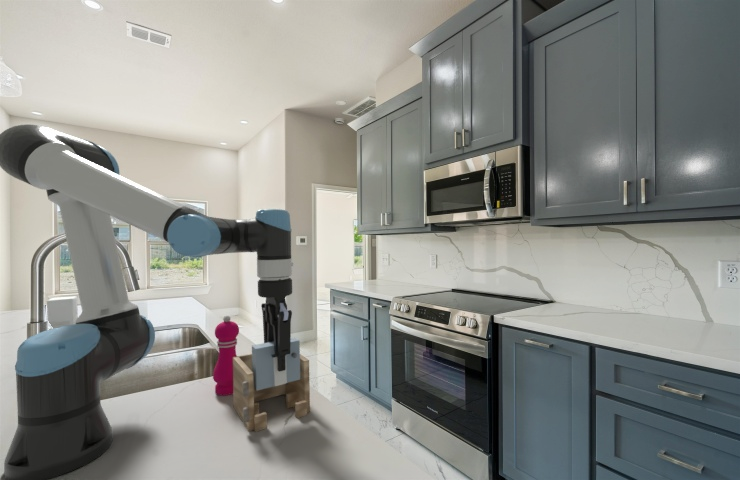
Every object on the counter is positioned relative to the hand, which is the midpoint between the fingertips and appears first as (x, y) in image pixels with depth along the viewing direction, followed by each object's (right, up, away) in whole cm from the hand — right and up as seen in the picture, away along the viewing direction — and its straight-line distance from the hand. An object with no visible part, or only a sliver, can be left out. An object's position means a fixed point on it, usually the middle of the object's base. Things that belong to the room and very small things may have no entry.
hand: (277, 381), depth 78 cm
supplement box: (-119, -10, +79) cm, 143 cm away
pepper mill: (-17, -8, +14) cm, 24 cm away
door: (0, 0, 0) cm, 0 cm away
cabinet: (-2, -8, +4) cm, 9 cm away
